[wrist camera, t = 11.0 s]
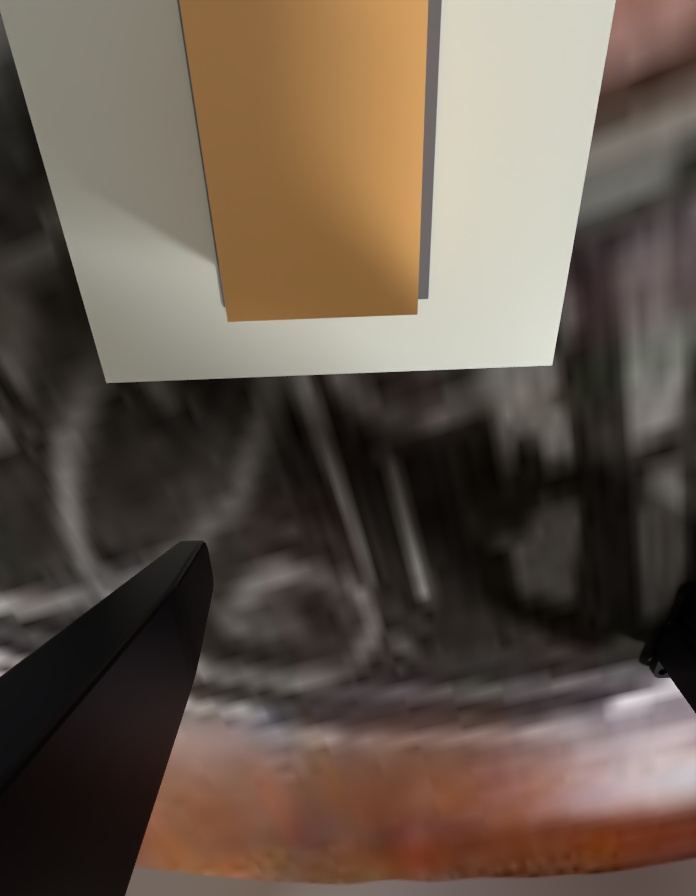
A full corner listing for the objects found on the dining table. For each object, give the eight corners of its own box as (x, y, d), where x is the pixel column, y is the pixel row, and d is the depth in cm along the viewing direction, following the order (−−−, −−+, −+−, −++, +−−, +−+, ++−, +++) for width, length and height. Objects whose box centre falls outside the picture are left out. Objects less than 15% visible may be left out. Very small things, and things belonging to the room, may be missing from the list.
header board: (633, -211, 11) (827, -482, 7) (541, 357, 18) (610, 408, 13) (-36, -191, 11) (-282, -455, 7) (117, 374, 18) (44, 430, 13)
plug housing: (220, -48, 12) (147, -209, 7) (396, -55, 12) (436, -219, 7) (259, 287, 15) (227, 321, 11) (392, 282, 15) (417, 314, 11)
